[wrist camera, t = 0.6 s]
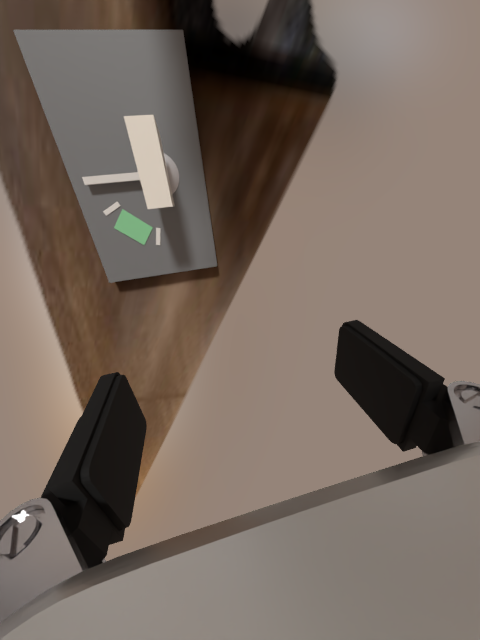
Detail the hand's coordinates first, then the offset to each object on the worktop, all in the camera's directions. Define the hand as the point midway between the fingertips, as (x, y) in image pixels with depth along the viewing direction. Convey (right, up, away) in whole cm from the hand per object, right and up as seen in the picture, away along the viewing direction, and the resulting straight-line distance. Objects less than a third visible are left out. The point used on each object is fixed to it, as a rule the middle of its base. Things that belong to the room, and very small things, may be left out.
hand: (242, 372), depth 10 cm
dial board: (-12, +19, +17) cm, 28 cm away
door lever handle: (-12, +18, +15) cm, 26 cm away
